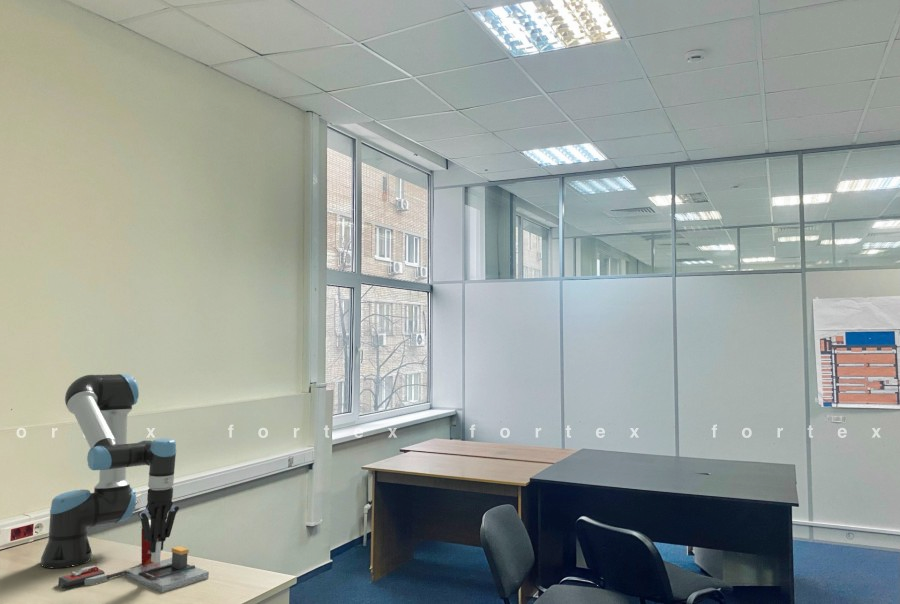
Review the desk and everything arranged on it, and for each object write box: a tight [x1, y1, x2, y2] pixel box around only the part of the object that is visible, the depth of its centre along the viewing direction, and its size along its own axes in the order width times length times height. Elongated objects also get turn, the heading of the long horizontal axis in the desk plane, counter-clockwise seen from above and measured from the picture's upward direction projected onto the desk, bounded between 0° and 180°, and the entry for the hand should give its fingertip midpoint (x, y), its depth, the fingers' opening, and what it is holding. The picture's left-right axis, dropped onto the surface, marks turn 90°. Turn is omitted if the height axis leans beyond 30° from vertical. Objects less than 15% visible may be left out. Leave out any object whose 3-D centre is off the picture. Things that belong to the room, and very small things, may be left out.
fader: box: [171, 545, 189, 569], centre depth 207 cm, size 5×3×6 cm, turn 55°
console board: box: [124, 557, 210, 594], centre depth 203 cm, size 22×16×3 cm
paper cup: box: [140, 519, 158, 566], centre depth 217 cm, size 8×8×14 cm
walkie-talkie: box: [58, 565, 125, 590], centre depth 200 cm, size 9×4×20 cm
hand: (155, 561), depth 201 cm, fingers closed
